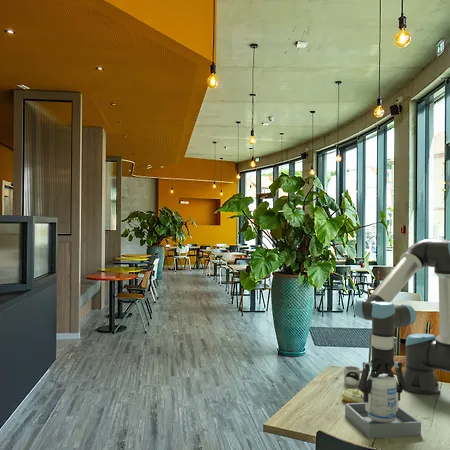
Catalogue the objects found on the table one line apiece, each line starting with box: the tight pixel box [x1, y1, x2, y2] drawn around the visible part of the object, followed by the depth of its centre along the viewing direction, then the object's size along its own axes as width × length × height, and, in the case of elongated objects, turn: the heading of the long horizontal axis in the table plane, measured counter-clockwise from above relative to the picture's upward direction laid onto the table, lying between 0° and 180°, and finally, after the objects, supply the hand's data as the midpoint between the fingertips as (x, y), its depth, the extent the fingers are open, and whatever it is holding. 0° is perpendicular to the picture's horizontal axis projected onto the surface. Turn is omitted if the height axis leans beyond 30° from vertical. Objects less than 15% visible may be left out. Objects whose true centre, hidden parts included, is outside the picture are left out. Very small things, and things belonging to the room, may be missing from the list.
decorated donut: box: [341, 388, 365, 404], centre depth 186 cm, size 10×11×4 cm
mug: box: [343, 365, 363, 387], centre depth 207 cm, size 10×7×7 cm, turn 83°
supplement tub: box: [368, 372, 397, 423], centre depth 164 cm, size 10×10×15 cm
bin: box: [344, 403, 422, 440], centre depth 164 cm, size 19×19×4 cm
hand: (381, 410), depth 164 cm, fingers closed on supplement tub, 9 cm apart
